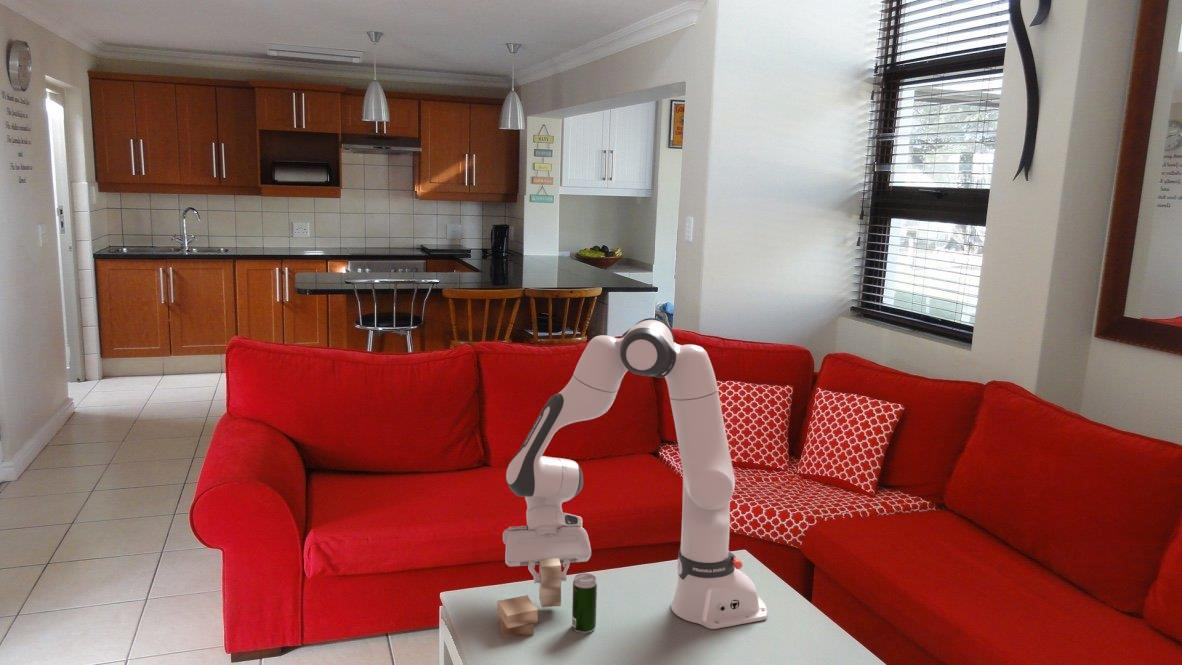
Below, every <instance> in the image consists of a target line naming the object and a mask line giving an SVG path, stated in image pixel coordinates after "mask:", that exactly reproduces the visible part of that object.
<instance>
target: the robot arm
mask: <svg viewBox="0 0 1182 665" xmlns="http://www.w3.org/2000/svg"><path fill="white" fill-rule="evenodd" d="M575 366H576V367H575V370H574V371H573V375H572V376H571V378H570V380H569V381H568V383H567V384H566V385H565V386H564V388H563V389H561V391H559V392H558V393H556V394H553V395H552V396H550V397H549V399H548V400H547V402H546V403H545V404H544V406H543V408H542V409H541V411H540V412H539V414H538V416H537V418H536V420H535V421H534V424H533V425H532V427H531V429H530V431H529V432H528V433H527V436H526V438H525V440H524V441H523V443H522V445H521V446H520V448H519V449H518V451H517V452H516V454H515V455H514V456H512V458H511V460H510V461H509V464H508V466H507V467H506V468H507V469H506V471H505V481H506V484H507V486H508V488H509V490H510V491H511V492H513V493H514V495H516V496H517V497H520V498H521V497H524V499H525V502H526V506H527V507H526V512H525V514H526V516H525V517H526V525H520V526H508V528H506V529H504V531H503V532H502V542H503V544H504V545H505V552H504V553H505V555H504V558H505V559H504V560H505V561H504V562H505V565H507V566H508V567H521V566H527V568H528V571H529V572H530V574H531V576H532V577H533V581H534V582H533V583H534V584H539V583H541V574H540V573H538V572H537V571H536V570H535V567H536V566H537V565H539V561H540V559H552V558H559V560H560V563H561V564H562V567H563V571H561V582H566V581H567V571H568V569H569V567H570V566H571V564H570V563H581V562H583V563H584V562H588V561H589V560H590V558H591V556H592V548H591V543H590V540H589V539H590V538H589V535H588V532H587V530H586V529H585V528H583V518H582V517H581V516H580V515H579V516H578V515H575V514H571V513H567V512H563V508H562V504H563V503H564V502H565V503H567V502H568V501H571V500H572V499H574V498H575V497H576V496H577V495H579V493H581V491H582V489H583V487H584V475H583V474H584V473H583V471H582V469H581V466H580V465H579V463H578V462H577V461H575V460H571V459H570V458H569V459H567V458H561V457H552V456H545V455H543V454H544V453H545V451H546V449H547V447H548V446H549V444H550V442H551V440H552V439H553V436H554V435H555V433H557V432H558V431H559V429H560V430H561V428H563V427H565V426H567V425H570V424H574V423H577V422H583V421H589V420H594V419H596V418H599V417H601V416H603V415H604V414H606V413H607V412H608V411H609V410H610V408H611V407H612V405H613V403H614V402H615V400H616V397H617V394H618V391H619V389H620V387H621V383H622V381H623V379H624V376H625V375H626V373H627V372H628V371H629V372H631V373H632V374H634V375H638V376H645V377H653V378H665V381H666V385H667V390H668V396H669V402H670V406H671V411H672V416H673V421H674V427H675V433H676V440H677V445H678V451H679V456H680V462H681V469H682V473H683V475H682V502H681V503H682V506H681V507H682V510H681V511H682V512H681V516H682V517H681V533H680V534H681V535H680V536H681V537H680V548H679V550H678V558H677V565H676V568H677V575H678V576H677V583H676V588H675V590H674V591H675V592H674V596H673V598H672V601H671V603H670V609H671V611H672V612H673V614H675V615H676V616H678V618H681V619H683V620H685V621H687V622H691V623H695V624H698V625H701V626H703V627H705V628H707V629H709V630H717V629H721V628H722V629H723V628H726V627H727V628H728V627H732V626H733V627H734V626H737V625H738V626H739V625H743V624H749V623H755V622H759V621H760V622H761V621H765V620H767V618H768V608H767V606H766V604H765V602H764V601H763V599H762V598H761V597H760V596H759V595H758V594H759V593H758V590H757V588H756V585H755V584H754V582H753V581H752V580H751V578H750V577H749V576H747V574H745V573H744V572H742V571H741V569H742V568H743V561H741V559H740V558H738V557H737V556H736V554H734V553H733V552H731V551H730V550H729V548H730V546H729V545H730V530H731V528H730V526H731V512H730V511H731V510H730V509H731V508H730V507H731V506H730V505H731V504H730V502H731V499H732V497H733V495H734V490H735V487H736V478H735V473H734V468H733V462H732V458H731V452H730V448H729V442H728V436H727V431H726V427H725V421H724V415H723V410H722V404H721V399H720V393H719V387H718V383H717V379H716V373H715V371H714V367H713V365H712V362H711V360H710V357H709V354H708V352H707V351H706V349H704V347H703V346H700V345H696V344H683V345H682V344H678V343H676V341H675V335H674V332H673V330H672V328H671V327H670V325H669V324H668V323H667V322H665V321H664V320H661V319H659V318H655V317H650V318H644V319H642V320H639V321H638V322H637V323H635V324H634V325H632V326H631V327H630V328H629V329H628V330H626V331H625V332H624V333H623V334H621V338H617V337H614V336H612V335H606V334H605V335H604V334H602V335H597V336H594V337H593V338H592V339H590V341H589V342H588V343H587V345H586V347H585V348H584V350H583V352H582V354H581V356H580V358H579V360H578V362H577V364H576V365H575Z"/></svg>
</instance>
